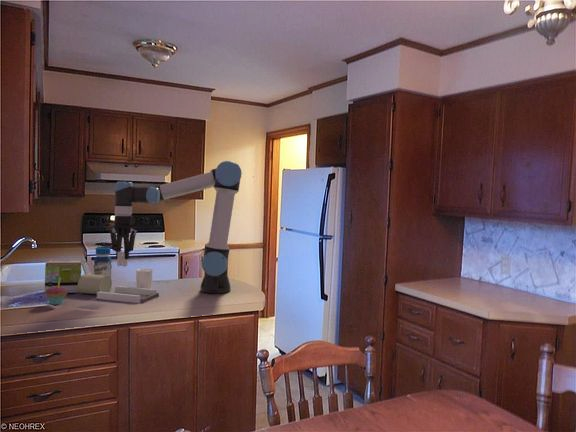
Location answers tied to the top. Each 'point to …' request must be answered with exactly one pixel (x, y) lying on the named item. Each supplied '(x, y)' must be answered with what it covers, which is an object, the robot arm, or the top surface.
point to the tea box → (63, 274)
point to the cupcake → (56, 294)
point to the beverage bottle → (102, 262)
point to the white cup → (144, 278)
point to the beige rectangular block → (94, 284)
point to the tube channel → (126, 294)
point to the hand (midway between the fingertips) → (122, 266)
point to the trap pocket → (149, 297)
